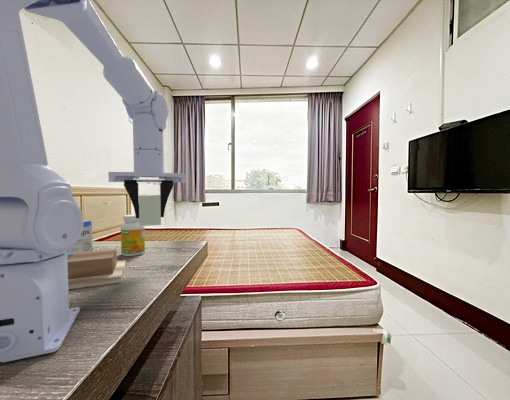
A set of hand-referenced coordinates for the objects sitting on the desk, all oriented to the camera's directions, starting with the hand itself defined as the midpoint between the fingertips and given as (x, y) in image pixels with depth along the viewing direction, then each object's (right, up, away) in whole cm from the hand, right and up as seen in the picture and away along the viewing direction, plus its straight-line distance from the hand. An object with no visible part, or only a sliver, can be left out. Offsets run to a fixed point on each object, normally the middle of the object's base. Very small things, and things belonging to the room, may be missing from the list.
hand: (150, 217), depth 53 cm
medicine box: (-21, -10, +6) cm, 24 cm away
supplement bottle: (-9, -10, +11) cm, 17 cm away
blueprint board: (-8, -11, -5) cm, 15 cm away
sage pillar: (0, -1, 0) cm, 1 cm away
